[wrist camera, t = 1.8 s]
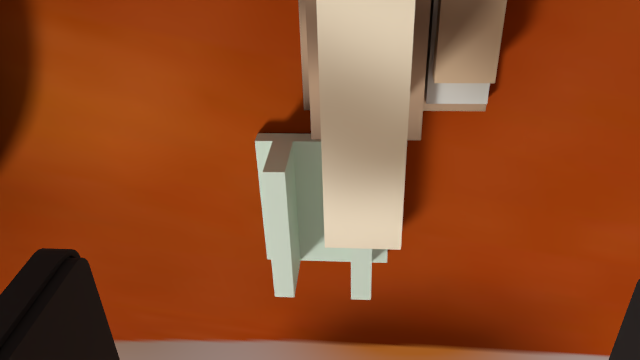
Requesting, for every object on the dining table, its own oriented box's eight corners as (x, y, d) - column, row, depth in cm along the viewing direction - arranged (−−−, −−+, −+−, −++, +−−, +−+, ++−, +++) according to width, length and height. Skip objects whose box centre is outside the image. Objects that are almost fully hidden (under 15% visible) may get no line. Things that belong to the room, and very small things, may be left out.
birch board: (341, -99, 25) (315, -40, 14) (396, -101, 25) (418, -42, 13) (343, 85, 30) (324, 247, 18) (389, 85, 30) (400, 249, 18)
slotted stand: (257, 133, 33) (243, 171, 29) (391, 134, 33) (394, 174, 29) (269, 249, 38) (258, 296, 34) (386, 253, 37) (388, 300, 34)
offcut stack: (435, -102, 25) (443, -93, 22) (503, -103, 25) (520, -95, 22) (422, 85, 30) (427, 112, 27) (479, 85, 30) (490, 112, 27)
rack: (294, -136, 26) (280, -131, 22) (515, -143, 25) (541, -139, 21) (305, 102, 32) (296, 139, 28) (482, 103, 31) (497, 141, 27)
